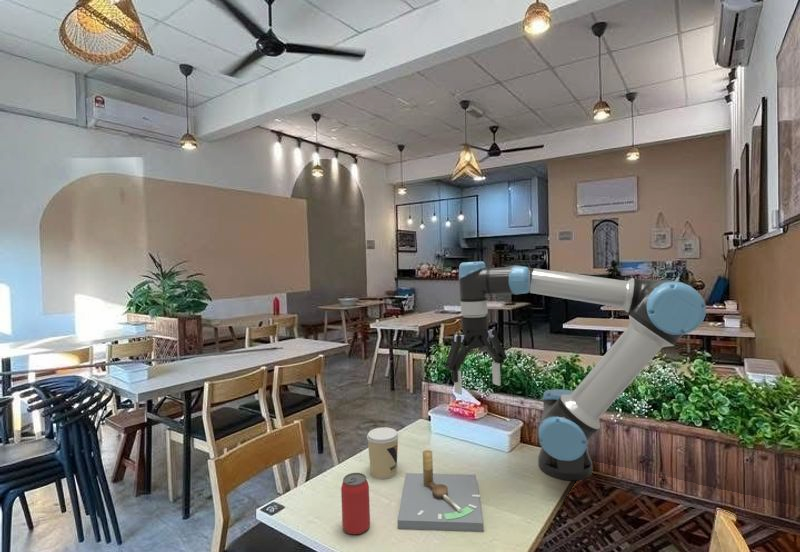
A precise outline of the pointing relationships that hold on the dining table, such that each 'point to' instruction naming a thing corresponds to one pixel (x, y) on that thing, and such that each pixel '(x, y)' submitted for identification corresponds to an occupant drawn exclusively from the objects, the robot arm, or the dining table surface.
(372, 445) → the coffee cup
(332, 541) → the dining table surface
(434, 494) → the peg dial
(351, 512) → the beer can
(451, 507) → the board
